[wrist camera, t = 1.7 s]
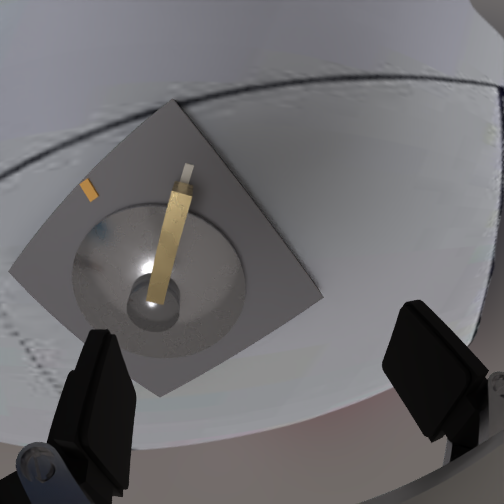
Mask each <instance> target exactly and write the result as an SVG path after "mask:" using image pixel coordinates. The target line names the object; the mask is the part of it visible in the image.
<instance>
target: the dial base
mask: <svg viewBox="0 0 504 504" xmlns="http://www.w3.org/2000/svg"><path fill="white" fill-rule="evenodd" d="M175 181H178V182H182V183H186V184H190V185H193V196H192V200H191V203H190V206H189V211H191V212H193V213H195V214H197V215H199V216H201V217H203V218H204V219H206V220H207V221H209V222H210V223H212V224H213V225H214V226H215V227H217V228H218V229H219V230H220V231H221V232H222V233H223V234H224V235H225V237H226V238H227V239H228V240H229V241H230V243H231V244H232V246H233V247H234V249H235V251H236V253H237V255H238V257H239V259H240V263H241V266H242V269H243V273H244V278H245V300H244V305H243V308H242V311H241V314H240V316H239V318H238V320H237V321H236V323H235V324H234V326H233V327H232V329H231V330H230V331H229V332H228V333H227V334H226V335H225V336H224V337H223V338H222V339H221V340H219V341H218V342H217V343H215V344H214V345H212V346H211V347H209V348H207V349H205V350H203V351H201V352H198V353H195V354H192V355H188V356H184V357H178V358H152V357H146V356H141V355H137V354H134V353H131V352H128V351H126V350H123V349H121V348H120V349H121V352H122V355H123V358H124V361H125V364H126V367H127V370H128V373H129V376H130V378H131V379H133V380H134V381H136V382H137V383H139V384H140V385H142V386H143V387H145V388H146V389H148V390H149V391H151V392H152V393H154V394H155V395H157V396H159V397H162V396H163V395H165V394H167V393H169V392H171V391H173V390H175V389H176V388H178V387H180V386H182V385H184V384H185V383H187V382H189V381H191V380H193V379H194V378H196V377H198V376H200V375H202V374H203V373H205V372H207V371H208V370H210V369H212V368H214V367H215V366H217V365H219V364H220V363H222V362H224V361H226V360H227V359H229V358H231V357H232V356H234V355H236V354H237V353H239V352H241V351H242V350H244V349H245V348H247V347H249V346H250V345H252V344H254V343H255V342H257V341H258V340H260V339H262V338H263V337H265V336H266V335H268V334H269V333H271V332H273V331H274V330H276V329H277V328H279V327H280V326H282V325H283V324H285V323H286V322H288V321H289V320H291V319H293V318H294V317H296V316H297V315H299V314H300V313H302V312H303V311H305V310H306V309H307V308H309V307H310V306H312V305H313V304H315V303H316V302H318V301H319V300H321V299H322V298H324V297H323V296H322V294H321V292H320V291H319V289H318V288H317V286H316V285H315V284H314V282H313V281H312V279H311V278H310V277H309V275H308V274H307V272H306V271H305V270H304V268H303V267H302V265H301V264H300V263H299V261H298V260H297V259H296V257H295V256H294V254H293V253H292V252H291V250H290V249H289V248H288V246H287V245H286V244H285V242H284V241H283V240H282V238H281V237H280V235H279V234H278V233H277V231H276V230H275V229H274V227H273V226H272V225H271V223H270V222H269V221H268V219H267V218H266V217H265V215H264V214H263V213H262V211H261V210H260V209H259V207H258V206H257V205H256V203H255V202H254V201H253V199H252V198H251V197H250V195H249V194H248V193H247V191H246V190H245V189H244V188H243V186H242V185H241V184H240V182H239V181H238V180H237V178H236V177H235V176H234V175H233V173H232V172H231V171H230V169H229V168H228V167H227V165H226V164H225V163H224V162H223V160H222V159H221V158H220V156H219V155H218V154H217V153H216V151H215V150H214V149H213V147H212V146H211V145H210V144H209V142H208V141H207V140H206V139H205V137H204V136H203V135H202V134H201V132H200V131H199V130H198V129H197V127H196V126H195V125H194V123H193V122H192V121H191V120H190V118H189V117H188V116H187V115H186V113H185V112H184V111H183V110H182V109H181V107H180V106H179V105H178V104H177V102H176V101H175V100H174V99H171V100H170V101H169V102H168V103H166V104H165V105H164V106H163V107H161V108H160V109H159V110H158V111H156V112H155V113H154V114H153V115H151V116H150V117H149V118H148V119H147V120H145V121H144V122H143V123H142V124H141V125H140V126H138V127H137V128H136V129H135V130H134V131H133V132H132V133H130V134H129V135H128V136H127V137H126V138H125V139H124V140H123V141H122V142H120V143H119V144H118V145H117V146H116V147H115V148H114V149H113V150H112V151H111V152H110V153H109V154H108V155H107V156H106V157H105V158H104V159H103V160H102V161H101V162H99V163H98V164H97V165H96V166H95V167H94V168H93V169H92V171H91V172H90V173H89V174H88V175H87V176H86V177H85V178H84V179H83V180H82V181H81V182H80V183H79V184H78V185H77V186H76V187H75V188H74V189H73V191H72V192H71V193H70V194H69V195H68V196H67V197H66V198H65V199H64V201H63V202H62V203H61V204H60V205H59V206H58V207H57V209H56V210H55V211H54V212H53V213H52V214H51V216H50V217H49V218H48V219H47V220H46V222H45V223H44V224H43V225H42V227H41V228H40V229H39V230H38V232H37V233H36V234H35V236H34V237H33V238H32V239H31V241H30V242H29V243H28V245H27V246H26V247H25V249H24V250H23V251H22V253H21V254H20V255H19V257H18V258H17V260H16V261H15V263H14V264H13V265H12V267H11V268H10V270H9V271H8V272H9V273H10V274H11V275H12V276H13V277H14V278H15V279H16V280H17V281H18V282H19V283H20V284H21V285H22V286H23V287H24V288H25V290H26V291H27V292H28V293H29V294H30V295H31V296H32V297H33V298H34V299H36V300H37V301H38V302H39V303H40V304H41V305H42V306H43V307H44V308H45V309H46V310H47V311H48V312H49V313H50V314H51V315H52V316H54V317H55V318H56V319H57V320H58V321H59V322H60V323H61V324H62V325H64V326H65V327H66V328H67V329H68V330H69V331H71V332H72V333H73V334H74V335H75V336H76V337H78V338H79V339H80V340H81V341H82V342H84V343H85V341H86V338H87V336H88V333H89V331H90V330H91V329H94V328H93V327H92V326H91V325H90V324H89V322H88V321H87V320H86V318H85V317H84V315H83V314H82V312H81V310H80V308H79V306H78V304H77V301H76V298H75V295H74V291H73V285H72V269H73V262H74V259H75V255H76V252H77V250H78V248H79V246H80V244H81V243H82V241H83V240H84V238H85V237H86V235H87V234H88V233H89V231H90V230H91V229H92V228H93V227H94V226H95V225H96V224H97V223H98V222H100V221H101V220H102V219H104V218H105V217H106V216H108V215H110V214H112V213H113V212H115V211H118V210H120V209H123V208H126V207H129V206H134V205H139V204H151V203H152V204H166V205H168V203H169V199H170V195H171V192H172V189H173V186H174V183H175Z"/></svg>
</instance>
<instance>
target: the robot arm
mask: <svg viewBox="0 0 504 504" xmlns="http://www.w3.org/2000/svg"><path fill="white" fill-rule="evenodd" d="M382 368H383V371H384V373H385V374H386V376H387V377H388V379H389V380H390V382H391V384H392V385H393V387H394V388H395V390H396V391H397V393H398V394H399V396H400V398H401V399H402V401H403V402H404V404H405V405H406V407H407V408H408V410H409V412H410V413H411V415H412V417H413V418H414V420H415V422H416V423H417V425H418V426H419V428H420V430H421V431H422V433H423V434H424V436H426V437H428V438H429V439H430V441H431V442H434V441H436V440H438V439H440V438H442V437H443V436H444V435H446V436H447V444H446V450H445V456H444V462H443V467H441V468H439V469H437V470H435V471H433V472H431V473H429V474H427V475H425V476H423V477H421V478H419V479H417V480H415V481H413V482H411V483H409V484H406V485H404V486H402V487H399V488H397V489H395V490H392V491H390V492H387V493H385V494H382V495H380V496H377V497H375V498H372V499H369V500H366V501H364V502H361V503H358V504H504V372H494V373H492V374H491V375H490V376H489V378H488V380H487V379H486V378H485V376H486V375H487V373H488V371H489V370H488V369H487V368H486V367H485V366H484V365H483V364H482V362H481V361H480V360H479V359H478V358H477V357H476V356H475V355H474V354H473V353H472V352H471V350H470V349H469V348H468V347H467V346H466V345H465V344H464V343H463V342H462V341H461V340H460V339H459V338H458V336H457V335H456V334H455V333H454V332H453V331H452V330H451V329H450V328H449V327H448V326H447V325H446V324H445V323H444V322H443V321H442V320H441V319H440V318H439V317H438V316H437V315H436V314H435V313H434V312H433V311H432V310H431V309H430V308H429V307H428V306H427V305H426V304H425V303H424V302H423V301H421V300H414V301H409V302H406V303H405V304H404V305H403V307H402V308H401V309H400V311H399V315H398V318H397V321H396V324H395V327H394V330H393V333H392V336H391V339H390V342H389V345H388V348H387V351H386V353H385V356H384V359H383V362H382ZM135 408H136V392H135V389H134V386H133V384H132V381H131V378H130V376H129V373H128V370H127V367H126V364H125V361H124V358H123V355H122V352H121V349H120V346H119V343H118V340H117V337H116V335H115V334H111V333H110V331H109V330H108V329H91V330H90V331H89V333H88V336H87V338H86V341H85V344H84V346H83V349H82V351H81V354H80V357H79V359H78V362H77V365H76V368H75V370H72V371H71V372H70V373H69V374H68V376H67V379H66V382H65V385H64V388H63V391H62V394H61V397H60V400H59V403H58V406H57V409H56V412H55V415H54V419H53V422H52V425H51V429H50V432H49V436H48V440H47V443H43V442H34V443H31V444H28V445H27V446H25V447H24V448H22V450H21V451H20V452H19V454H18V456H17V459H16V470H17V471H15V472H13V473H12V474H10V475H8V476H6V477H5V478H3V479H1V480H0V504H112V496H118V497H123V489H125V490H126V489H128V486H129V471H130V457H131V446H132V435H133V425H134V416H135Z"/></svg>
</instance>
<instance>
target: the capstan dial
mask: <svg viewBox="0 0 504 504" xmlns="http://www.w3.org/2000/svg"><path fill="white" fill-rule="evenodd" d="M192 196H193V185H190V184H186V183H182V182H178V181H175V183H174V186H173V189H172V192H171V195H170V199H169V203H168V205H166V204H152V203H151V204H139V205H134V206H129V207H126V208H123V209H120V210H118V211H115V212H113V213H112V214H110V215H108V216H106V217H105V218H104V219H102V220H101V221H100V222H98V223H97V224H96V225H95V226H94V227H93V228H92V229H91V230H90V231H89V233H88V234H87V235H86V237H85V238H84V240H83V241H82V243H81V244H80V246H79V248H78V250H77V252H76V255H75V259H74V262H73V269H72V285H73V291H74V295H75V298H76V301H77V304H78V306H79V308H80V310H81V312H82V314H83V315H84V317H85V318H86V320H87V321H88V322H89V324H90V325H91V326H92V327H93V328H94V329H108V330H109V331H110V333H111V334H115V335H116V337H117V340H118V343H119V346H120V348H121V349H123V350H126V351H128V352H131V353H134V354H137V355H141V356H146V357H152V358H178V357H184V356H188V355H192V354H195V353H198V352H201V351H203V350H205V349H207V348H209V347H211V346H212V345H214V344H215V343H217V342H218V341H219V340H221V339H222V338H223V337H224V336H225V335H226V334H227V333H228V332H229V331H230V330H231V329H232V327H233V326H234V324H235V323H236V321H237V320H238V318H239V316H240V314H241V311H242V308H243V305H244V300H245V278H244V273H243V269H242V266H241V263H240V259H239V257H238V255H237V253H236V251H235V249H234V247H233V246H232V244H231V243H230V241H229V240H228V239H227V238H226V237H225V235H224V234H223V233H222V232H221V231H220V230H219V229H218V228H217V227H215V226H214V225H213V224H212V223H210V222H209V221H207V220H206V219H204V218H203V217H201V216H199V215H197V214H195V213H193V212H191V211H189V206H190V203H191V200H192Z"/></svg>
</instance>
